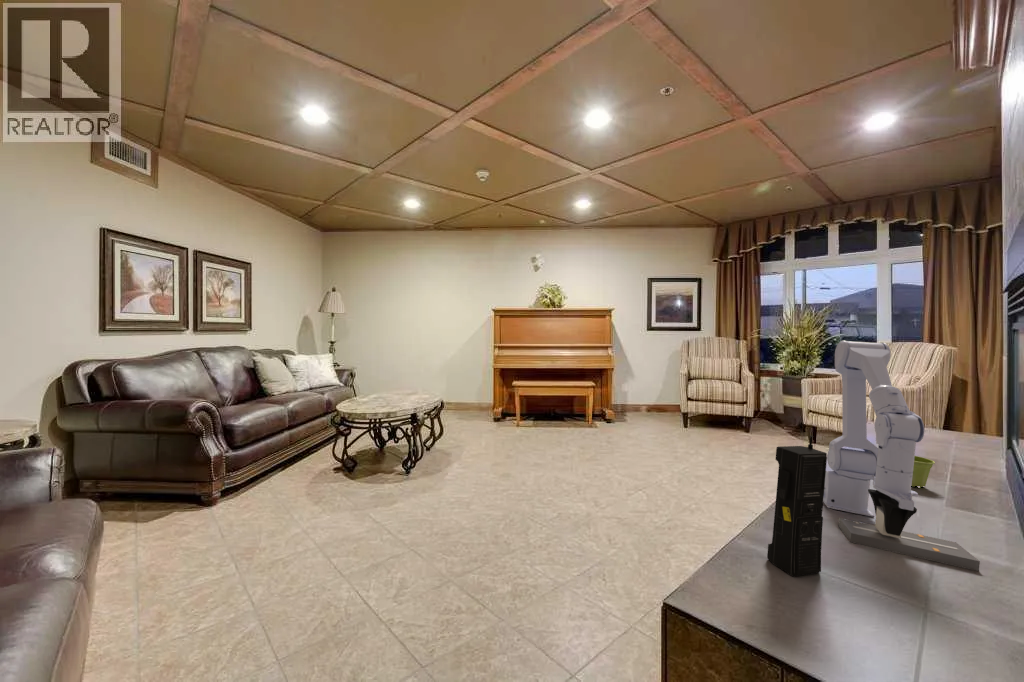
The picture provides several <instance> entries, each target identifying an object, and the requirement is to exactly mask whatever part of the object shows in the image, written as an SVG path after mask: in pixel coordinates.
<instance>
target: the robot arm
mask: <svg viewBox="0 0 1024 682" xmlns="http://www.w3.org/2000/svg"><path fill="white" fill-rule="evenodd" d="M891 356H892V354H891V348H890V346H889V344H888V343H886V342H865V341H850V340H840V341H839V342H838V343H837V345H836V347H835V351H834V368H835V372H837V373H839V374H840V375H841V383H842V388H841V389H842V393H841V394H842V397H841V398H842V400H841V401H842V404H841V405H842V407H841V408H842V424H841V425H842V435H841V436H838V437H836V438H833V439H832V440H831V441H830V442H829V445H828V451H827V465H828V467H829V468H830V469H831V470H826V475H825V486H824V496H823V504H824V505H825V506H826V507H827V509H833V510H838V511H843V512H847V513H851V514H857V515H863V516H868V517H871V518H873V517H875V515H876V511H877V506H880V507H882V509H883V513H884V523H885V530H886V532H887V533H888V534H892V535H897V536H900V534H901V532H902V531H904V529H905V526H906V525H907V522H908V521H909V520H910V519H911V517H912V516H913V515H915V514H916V513H917V512H918V511H917V510H918V509H917V508H916V507H915V501H914V500H913V497H916V498H917V497H919V493H918V492H917V491H914V490H912V487H913V486H912V476H913V466H914V457H915V456H916V454H915V453H916V446H917V443H920V442H921V441H923V439H924V436H925V432H926V431H925V430H926V429H925V423H924V421H923V418H922V417H921V416H920V415H918V414H916V413H915V411H911V410H910V408H909V406H908V403H907V401H906V400H905V397H904V395H903V392H902V391H901V390H900V389H899V388H898V387H895V386H893V384H892V380H891V377H890V375H889V372H888V371H889V370H888V368H887V367H888V365H889V362H890V360H891ZM867 382H868V384H869V386H870V388H871V391H870V392H869V393H868V397H869V401H870V403H871V405H872V408H873V410H874V413H875V416H876V417H875V421H874V431H875V441H876V444H877V445H878V446H876V445H875V444H874V443H873V442H871V441H870V440H869V439H868V436H867V427H868V426H867ZM851 448H853V449H851ZM858 449H859V450H858ZM871 481H872V485H873V486H872V487H873V489H872V488H871ZM911 486H912V487H911ZM870 488H871V489H870ZM869 496H870V497H871V498H870V497H869ZM869 498H870V499H871V500H872V503H873V507H874V512H875V515H874V513H873V512H872V511H870V509H869V508H868V507H869Z"/></svg>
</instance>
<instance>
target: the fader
mask: <svg viewBox="0 0 1024 682" xmlns="http://www.w3.org/2000/svg"><path fill="white" fill-rule="evenodd" d="M874 525H875V527H876V528H877V529H878V530H879V531H880V533H881V534H882V535H887V536H891V537H896V538H900V539H901V534H900V536H897V535H892V534H888V533H887V532H886V530H885V523H884V513H883V509H882V507H880V506H877V511H876V514H875V522H874Z"/></svg>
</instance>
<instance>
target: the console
mask: <svg viewBox="0 0 1024 682" xmlns="http://www.w3.org/2000/svg"><path fill="white" fill-rule="evenodd" d="M838 518H839V519H838V527H839V529H840V530H841V532H842V533H843V534H844V535H845V536H846V538H847V539H848V541H849V542H850V543H853V544H859V545H861V546H862V545H863V546H867V547H870V548H875V549H880V550H884V551H887V552H893V553H898V554H901V555H906V556H910V557H914V558H919V559H923V560H928V561H933V562H937V563H941V564H946V565H949V566H954V567H959V568H964V569H968V570H971V571H977V572H979V571H980V564H981V561H980V560H979V559H978V558H977V557H975V556H974V555H973V554H971V553H970V552H969V551H968V550H966V549H965V548H964V547H963V546H962V545H960V544H959V543H958V542H957V541H952V540H946V539H942V538H939V537H938V538H937V537H932V536H928V535H925V534H924V535H923V534H918V533H914V532H908V531H904V530H902V532H901V539H900V538H896V537H891V536H887V535H882V534H881V533H880V531H879V530H878V529H877V528H876V527H875V524H872V523H871V524H869V523H865V522H860V521H856V520H852V519H848V518H847V519H846V518H841V517H838Z"/></svg>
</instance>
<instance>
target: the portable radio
mask: <svg viewBox="0 0 1024 682" xmlns="http://www.w3.org/2000/svg"><path fill="white" fill-rule="evenodd" d="M813 438H814V436H813V435H809V444H808V445H807V446H802V445H790V446H788V445H787V446H786V445H785V446H776V449H775V450H776V451H775V461H777V463H778V471H777V473H778V474H777V485H776V496H775V506H774V516H773V517H774V519H773V528H772V538H771V539H772V540H771V543H768V545H767V553H766V554H767V555H766V557H767V560H768V561H770V562H771V563H772V564H773V565H774V566H776V567H777V568H779V569H780V570H782V571H784V572H785V573H787V574H788V575H789V576H791V577H800V576H806V575H807V576H808V575H813V574H815V575H816V574H819V573H821V571H822V545H823V544H822V541H823V538H822V537H823V526H824V523H823V522H824V517H823V506H824V502H823V496H824V486H825V475H826V471H827V464H828V461H827V455H828V452H824V451H822V450H818V449H816V448H814V445H813V444H812V443H813Z"/></svg>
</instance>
